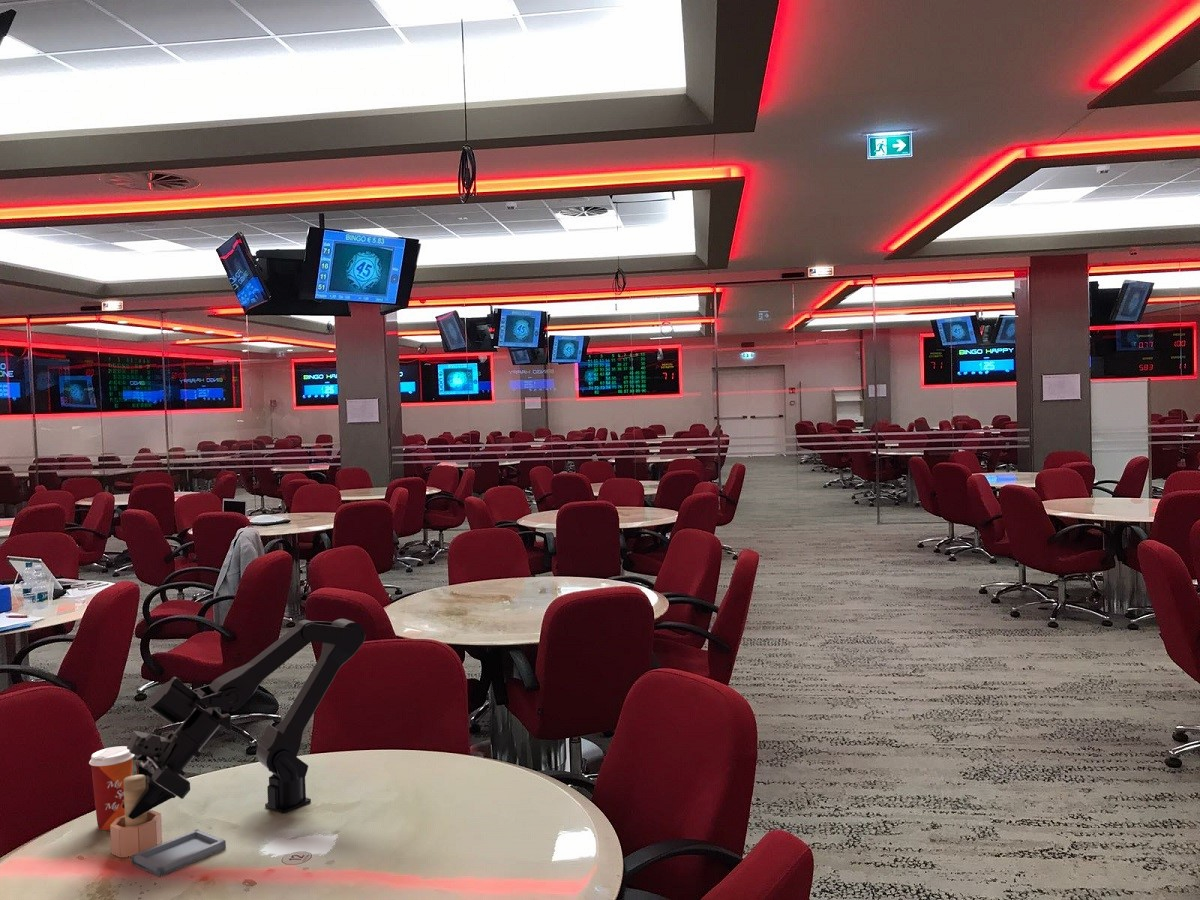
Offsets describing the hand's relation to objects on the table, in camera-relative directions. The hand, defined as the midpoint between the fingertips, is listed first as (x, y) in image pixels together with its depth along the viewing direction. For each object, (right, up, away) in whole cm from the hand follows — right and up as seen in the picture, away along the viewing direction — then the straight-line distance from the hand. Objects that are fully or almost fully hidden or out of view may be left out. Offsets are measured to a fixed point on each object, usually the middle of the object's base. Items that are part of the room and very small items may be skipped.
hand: (127, 813), depth 158 cm
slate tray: (+11, -6, -3) cm, 13 cm away
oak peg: (+1, -7, +1) cm, 7 cm away
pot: (+1, -7, +1) cm, 7 cm away
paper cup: (-8, -7, +11) cm, 16 cm away
